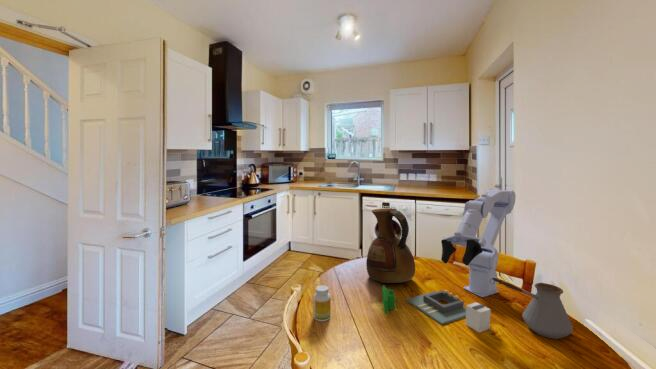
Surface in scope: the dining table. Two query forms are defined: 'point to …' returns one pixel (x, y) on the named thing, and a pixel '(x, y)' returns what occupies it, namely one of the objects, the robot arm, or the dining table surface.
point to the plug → (478, 317)
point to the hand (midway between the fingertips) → (453, 262)
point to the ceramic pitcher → (390, 250)
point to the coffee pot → (545, 311)
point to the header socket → (439, 306)
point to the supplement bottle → (322, 303)
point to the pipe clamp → (388, 299)
